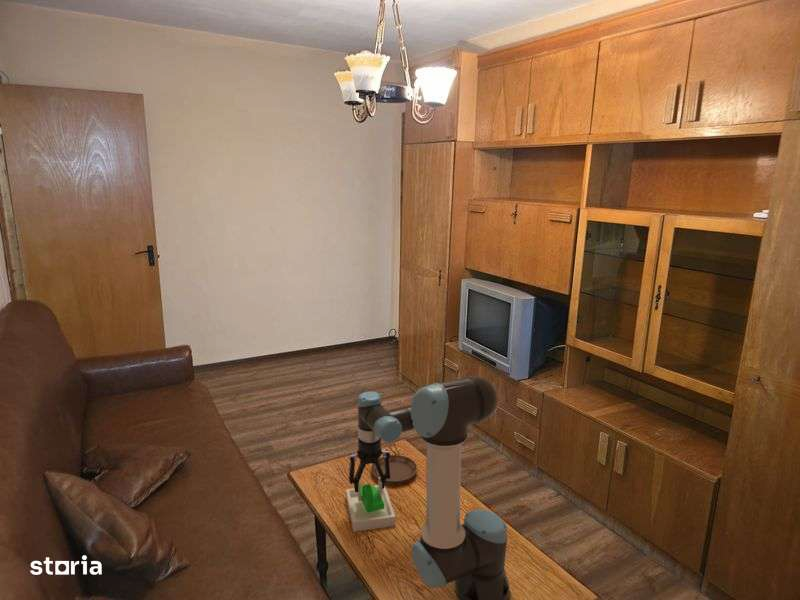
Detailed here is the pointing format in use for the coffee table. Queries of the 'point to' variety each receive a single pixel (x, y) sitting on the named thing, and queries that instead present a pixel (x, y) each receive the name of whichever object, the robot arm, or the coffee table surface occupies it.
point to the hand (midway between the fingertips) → (369, 497)
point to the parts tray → (370, 519)
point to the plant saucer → (396, 469)
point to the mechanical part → (371, 498)
